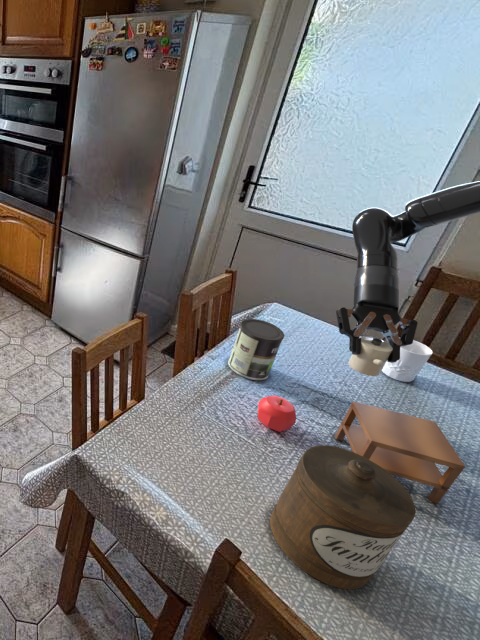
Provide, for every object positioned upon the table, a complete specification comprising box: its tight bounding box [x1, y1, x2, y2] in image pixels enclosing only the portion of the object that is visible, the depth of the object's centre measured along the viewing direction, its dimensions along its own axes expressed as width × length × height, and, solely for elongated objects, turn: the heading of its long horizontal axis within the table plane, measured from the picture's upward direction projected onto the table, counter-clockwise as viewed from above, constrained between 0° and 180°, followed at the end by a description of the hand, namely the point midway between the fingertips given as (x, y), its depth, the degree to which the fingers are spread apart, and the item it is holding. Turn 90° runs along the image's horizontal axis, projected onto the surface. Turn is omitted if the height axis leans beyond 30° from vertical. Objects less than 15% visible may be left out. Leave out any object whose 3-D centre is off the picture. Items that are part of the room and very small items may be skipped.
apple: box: [257, 394, 297, 433], centre depth 101 cm, size 8×8×8 cm
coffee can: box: [227, 318, 285, 381], centre depth 118 cm, size 10×10×14 cm
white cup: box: [381, 336, 434, 383], centre depth 115 cm, size 8×8×10 cm
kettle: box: [347, 335, 393, 377], centre depth 93 cm, size 8×6×8 cm
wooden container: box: [269, 444, 416, 590], centre depth 72 cm, size 15×15×22 cm
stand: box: [334, 400, 466, 504], centre depth 89 cm, size 14×12×11 cm
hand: (373, 357), depth 93 cm, fingers closed on kettle, 5 cm apart
